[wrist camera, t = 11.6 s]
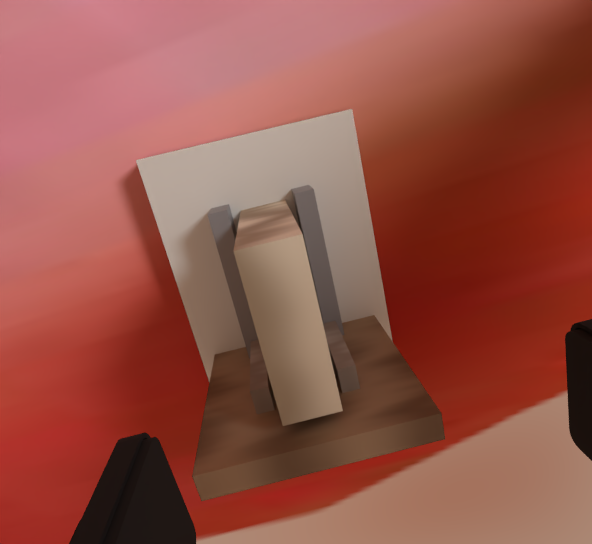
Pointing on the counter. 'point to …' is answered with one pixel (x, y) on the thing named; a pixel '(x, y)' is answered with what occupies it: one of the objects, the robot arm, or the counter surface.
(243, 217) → the beige rectangular block
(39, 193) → the counter surface
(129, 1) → the counter surface
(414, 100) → the counter surface
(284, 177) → the white tile with rails
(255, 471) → the cabinet side
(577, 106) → the counter surface
